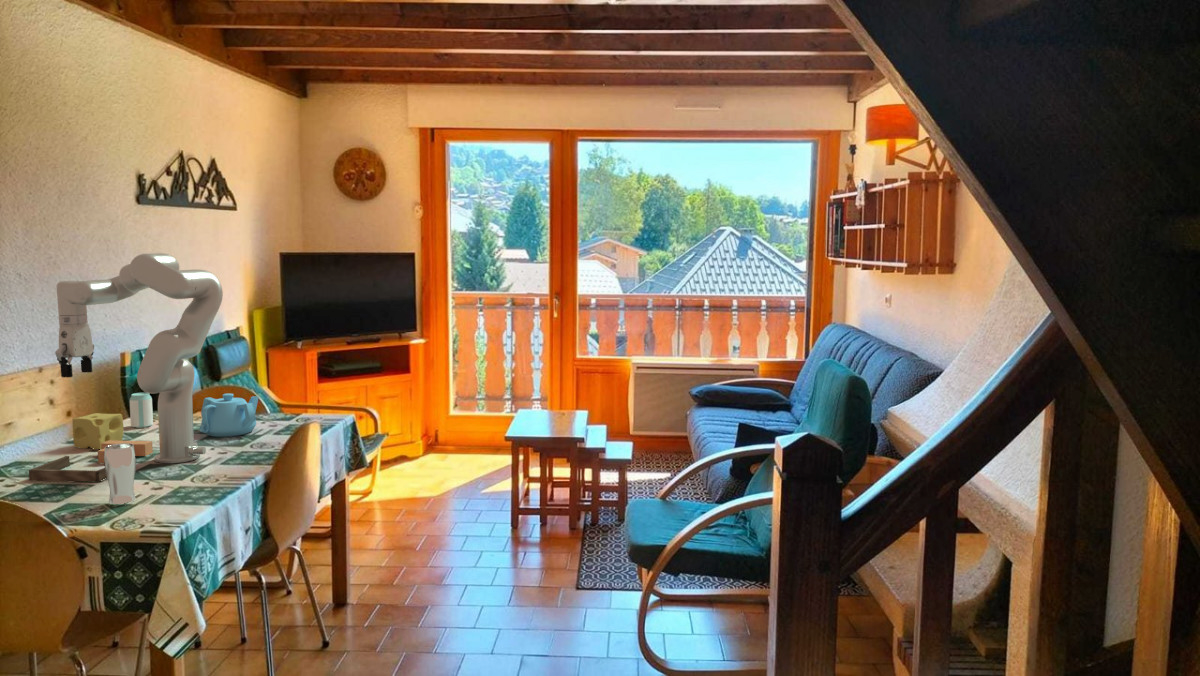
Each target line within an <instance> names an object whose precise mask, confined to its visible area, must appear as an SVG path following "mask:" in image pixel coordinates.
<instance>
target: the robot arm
mask: <svg viewBox="0 0 1200 676" xmlns="http://www.w3.org/2000/svg"><path fill="white" fill-rule="evenodd" d="M146 289H151V290H154V291H155V292H157V293H159V294H162V295H163V296H165V297H167V298H170V299H173V300H174V299H175V300H186V299H192V301H191V302H190V303H189V304H188V306H187V307H186V308H185V309H184V311H183V312H182V314H181V318H180V319H179V322H178V324H177V325H176V326H175V327H174V328H171V329H170V328H169V329H164V330H161V331H159V332H158V333H157V334H155V335H154V336H153V337H152V339H151V340H150V342H149V343H148V345H147V349H146V351H145V353H144V356H143V358H142V360H141V362H140V365H139V368H138V371H137V375H136V381H137V384H138V386H139V388H140V389H141V390H142V391H143V392H144V393H150V394H159V395H158V399H157V417H158V419H157V420H158V437H159V438H158V439H159V453H158V454H156V455H155V456H154V458H153V459H154V462H156V463H158V462H159V464H180V463H186V462H192V461H194V460H196V459H199V458H200V457H201V455H205V454H206V453H207V447H206V446H198V442H195V436H194V434H195V433H194V414H193V413H194V411H193V390H194V383H195V377H196V376H195V368H194V366H193V364H192V363H191V362H190V361H189V360H188V359H191V358H193V357H196V356H197V355H199V353H200V352H201V350H202V348H203V346H204V343H205V341H206V338H207V336H208V334H209V331H210V329H211V327H212V324H213V321H214V320H215V318H216V316H217V314H218V312H219V310H220V307H221V305H222V301H223V294H224V292H223V288H222V284H221V282H220V280H219V279H218V277H217V276H216V275H215V274H214V273H212V272H210V271H208V270H205V269H181V270H180V263H179V262H178V260H177V258H175V257H174V256H172V255H170V254H168V253H161V252H159V253H154V252H153V253H150V252H149V253H141V254H138V255H136V256H134V257H133V259H132V260H131V262H130V263H128V264H126V265H124V266H122V267H121V268H120V270H119V275H117V276H114V277H112V278H107V279H92V280H82V281H81V280H62V281H59V282H57V284H56V297H57V299H56V300H57V310H58V311H57V312H58V326H59V327H58V348H57V349H56V351H54V354H55V356H56V360H57V361H58V365H60V374H61V375H60V376H61V378H73V376H74V375H73V364H71V363H72V360H73V358H81V360H80V367H81V368H80V369H81V373H93V361H92V360H93V358H94V357H93V355H94V353H95V352H94V350H95V344H93V339H92V332H91V329H90V325H89V323H88V310H87V309H88V308H87V306H95V305H104V304H114V303H117V302H119V301H123V300H126V299H129V298H130V297H133V296H134V295H137V293H139V292H141V291H143V290H146Z"/></svg>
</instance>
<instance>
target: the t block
mask: <svg viewBox="0 0 1200 676" xmlns="http://www.w3.org/2000/svg"><path fill="white" fill-rule="evenodd" d="M119 443H131V444H134V450H135V456H146V455H149V454H151V453H154V449H153V447H154V446H153V441H151V440H150V441H149V440H122V441H114V440H109V441H106V442H103V443H101V450H97V464H98V463H104V454H105V447H106V446H108V445H112V444H119ZM151 455H152V454H151ZM149 456H150V455H149ZM146 457H147V456H146Z"/></svg>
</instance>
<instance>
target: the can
mask: <svg viewBox="0 0 1200 676" xmlns="http://www.w3.org/2000/svg"><path fill="white" fill-rule="evenodd" d="M150 394H151V393H147V392H136V393H135V392H134V393H132V394H131V396H130V398H129V414H130V427H132V428H134V427H136V428H135V429H143V428H142V427H146V428H149V427H148V426H150V427H151V426H153V425H154V416H153V415H154V414H153V398H152V396H151V395H150Z"/></svg>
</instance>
